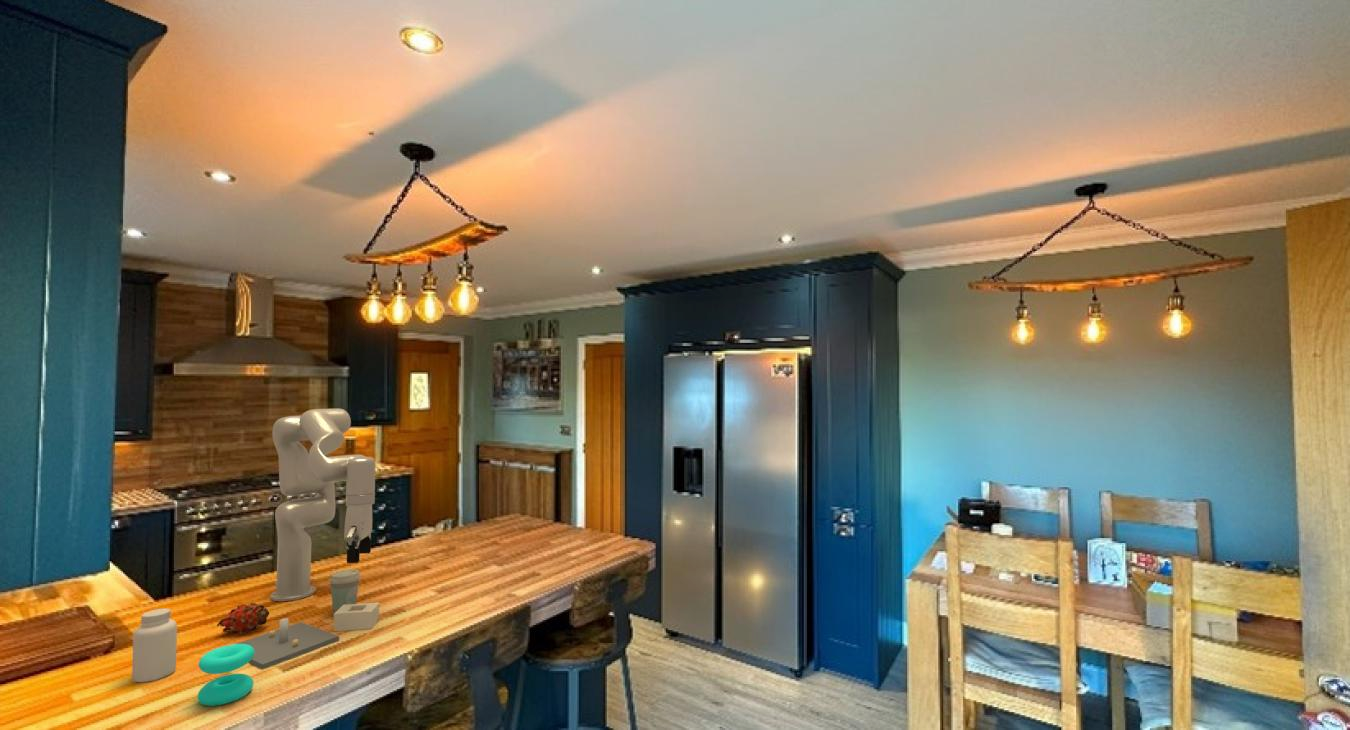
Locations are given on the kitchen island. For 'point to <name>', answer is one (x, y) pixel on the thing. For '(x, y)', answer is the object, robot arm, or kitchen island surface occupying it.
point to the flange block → (356, 616)
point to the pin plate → (287, 643)
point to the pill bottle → (154, 646)
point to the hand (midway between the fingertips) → (359, 557)
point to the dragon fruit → (244, 618)
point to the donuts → (227, 685)
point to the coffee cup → (344, 587)
